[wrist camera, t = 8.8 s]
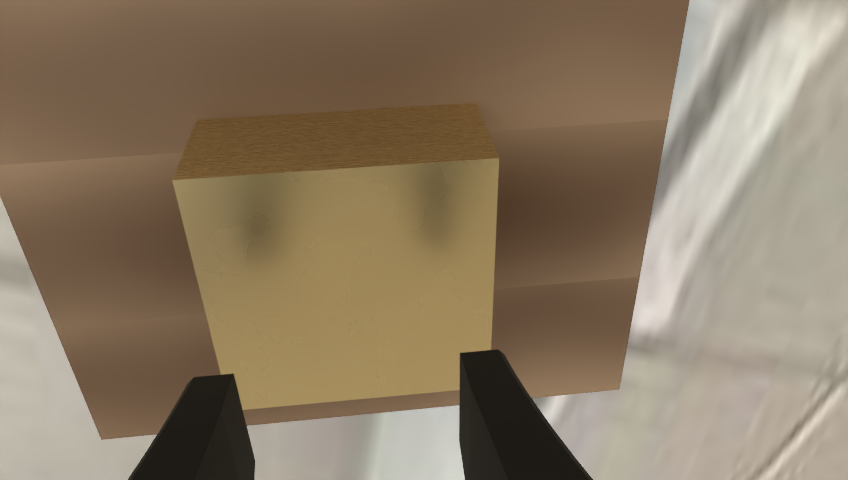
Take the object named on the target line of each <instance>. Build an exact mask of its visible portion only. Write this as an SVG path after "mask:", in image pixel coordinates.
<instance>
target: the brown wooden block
mask: <svg viewBox="0 0 848 480" xmlns="http://www.w3.org/2000/svg"><path fill="white" fill-rule="evenodd" d="M688 5H689V0H0V196H1V199H2V201H3V204H4V206H5V208H6V211H7V213H8V216H9V218H10V221H11V223H12V225H13V228H14V230H15V233H16V235H17V237H18V240H19V242H20V245H21V247H22V249H23V252H24V254H25V257H26V259H27V261H28V264H29V266H30V269H31V271H32V273H33V276H34V278H35V281H36V283H37V285H38V288H39V290H40V293H41V295H42V298H43V300H44V302H45V305H46V307H47V310H48V312H49V314H50V317H51V319H52V322H53V324H54V326H55V329H56V331H57V334H58V336H59V338H60V341H61V343H62V346H63V348H64V350H65V353H66V355H67V358H68V360H69V362H70V365H71V367H72V370H73V372H74V374H75V377H76V379H77V382H78V384H79V387H80V389H81V391H82V394H83V396H84V399H85V401H86V403H87V406H88V408H89V411H90V413H91V415H92V418H93V420H94V423H95V425H96V427H97V430H98V432H99V435H100V437H101V439H113V438H123V437H133V436H144V435H154V434H158V433H159V431H160V429H161V428H162V426H163V424H164V423H165V421H166V420H167V418H168V416H169V415H170V413H171V411H172V409H173V408H174V406H175V404H176V403H177V401H178V399H179V398H180V396H181V394H182V392H183V391H184V389H185V387H186V385H187V384H188V382H189V381H190V380H191V379H192V378H193V377H201V376H212V375H221V373H220V369H219V365H218V361H217V357H216V353H215V349H214V345H213V341H212V337H211V333H210V329H209V325H208V321H207V317H206V313H205V309H204V305H203V301H202V297H201V293H200V289H199V285H198V281H197V277H196V273H195V269H194V265H193V261H192V257H191V253H190V249H189V245H188V241H187V237H186V233H185V229H184V225H183V221H182V217H181V213H180V209H179V205H178V201H177V197H176V193H175V189H174V185H173V181H172V179H173V177H174V174H175V172H176V170H177V167H178V165H179V162H180V160H181V157H182V155H183V152H184V150H185V147H186V145H187V142H188V140H189V137H190V135H191V132H192V130H193V127H194V125H195V122H196V120H201V119H217V118H234V117H250V116H266V115H282V114H299V113H315V112H331V111H347V110H364V109H380V108H396V107H412V106H429V105H445V104H461V103H476V105H477V107H478V109H479V112H480V114H481V116H482V119H483V121H484V123H485V126H486V128H487V131H488V133H489V135H490V138H491V140H492V142H493V145H494V147H495V149H496V152H497V154H498V156H499V174H498V198H497V222H496V245H495V269H494V293H493V316H492V340H491V350H496V349H498V350H500V351H501V352H502V353H503V354H505V356H506V358H507V360H508V362H509V363H510V365H511V367H512V369H513V370H514V372H515V374H516V375H517V377H518V378H519V380H520V382H521V383H522V385H523V386H524V388H525V389H526V391H527V392H528V394H529V395H530V397H531V398H536V397H547V396H557V395H567V394H578V393H588V392H598V391H609V390H619V388H620V382H621V377H622V371H623V366H624V360H625V355H626V349H627V344H628V338H629V332H630V327H631V321H632V316H633V310H634V305H635V299H636V294H637V288H638V283H639V277H640V271H641V266H642V260H643V255H644V249H645V244H646V238H647V233H648V227H649V221H650V216H651V210H652V205H653V199H654V194H655V188H656V183H657V177H658V172H659V166H660V160H661V155H662V149H663V144H664V138H665V133H666V127H667V122H668V116H669V111H670V105H671V99H672V94H673V88H674V83H675V77H676V72H677V66H678V61H679V55H680V49H681V44H682V38H683V33H684V27H685V22H686V16H687V11H688ZM454 405H460V390H454V391H443V392H432V393H422V394H411V395H400V396H389V397H378V398H367V399H356V400H346V401H335V402H324V403H313V404H302V405H291V406H281V407H270V408H259V409H248V410H243V414H244V418H245V422H246V426H247V425H257V424H268V423H278V422H288V421H299V420H309V419H319V418H330V417H340V416H350V415H361V414H371V413H381V412H392V411H402V410H412V409H423V408H433V407H443V406H454Z"/></svg>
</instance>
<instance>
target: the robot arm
mask: <svg viewBox="0 0 848 480" xmlns="http://www.w3.org/2000/svg"><path fill="white" fill-rule="evenodd" d="M459 441H460V448H461V455H462V461H463V468H464V475H465V480H593V479H592V478H591V477H590V476H589V474H588V473H587V472H586V471H585V469H584V468H583V467H582V466H581V464H580V463H579V462H578V461H577V460H576V458H575V457H574V456H573V454H572V453H571V452H570V450H569V449H568V448H567V446H566V445H565V444H564V443H563V441H562V440H561V439H560V437H559V436H558V435H557V433H556V432H555V431H554V430H553V428H552V427H551V425H550V424H549V423H548V421H547V420H546V419H545V417H544V416H543V414H542V413H541V411H540V410H539V409H538V407H537V406H536V404H535V403H534V401H533V400H532V398H531V397H530V395H529V394H528V392H527V391H526V389H525V388H524V386H523V385H522V383H521V382H520V380H519V378H518V377H517V375H516V374H515V372H514V370H513V369H512V367H511V365H510V363H509V362H508V360H507V358H506V356H505V354H503V353H502V352H501V351H500V350H498V349H496V350H485V351H474V352H463V353H460V430H459ZM254 472H255V459H254V455H253V451H252V447H251V443H250V439H249V434H248V430H247V426H246V422H245V418H244V414H243V410H242V405H241V401H240V397H239V393H238V389H237V385H236V381H235V377H234V374H223V375H212V376H201V377H193V378H192V379H191V380H190V381H189V382H188V384H187V385H186V387H185V389H184V391H183V392H182V394H181V396H180V398H179V399H178V401H177V403H176V404H175V406H174V408H173V409H172V411H171V413H170V415H169V416H168V418H167V420H166V421H165V423H164V424H163V426H162V428H161V429H160V431H159V433H158V434H157V436H156V437H155V439H154V441H153V442H152V444H151V445H150V447H149V448H148V450H147V452H146V453H145V455H144V456H143V458H142V459H141V461H140V462H139V464H138V465H137V467H136V468H135V470H134V471H133V473H132V474H131V476H130V477H129V479H128V480H254Z"/></svg>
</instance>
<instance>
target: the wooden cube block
mask: <svg viewBox="0 0 848 480" xmlns="http://www.w3.org/2000/svg"><path fill="white" fill-rule="evenodd" d="M498 174H499V156H498V154H497V152H496V149H495V147H494V145H493V142H492V140H491V138H490V135H489V133H488V131H487V128H486V126H485V123H484V121H483V119H482V116H481V114H480V112H479V109H478V107H477V105H476V103H461V104H445V105H429V106H412V107H396V108H380V109H364V110H347V111H331V112H315V113H299V114H282V115H266V116H250V117H234V118H217V119H201V120H196V122H195V125H194V127H193V130H192V132H191V135H190V137H189V140H188V142H187V145H186V147H185V150H184V152H183V155H182V157H181V160H180V162H179V165H178V167H177V170H176V172H175V174H174V177H173V179H172V181H173V185H174V189H175V193H176V197H177V201H178V205H179V209H180V213H181V217H182V221H183V225H184V229H185V233H186V237H187V241H188V245H189V249H190V253H191V257H192V261H193V265H194V269H195V273H196V277H197V281H198V285H199V289H200V293H201V297H202V301H203V305H204V309H205V313H206V317H207V321H208V325H209V329H210V333H211V337H212V341H213V345H214V349H215V353H216V357H217V361H218V365H219V369H220V373H221V375H223V374H234V377H235V381H236V385H237V389H238V393H239V397H240V401H241V405H242V410H248V409H259V408H270V407H281V406H291V405H302V404H313V403H324V402H335V401H346V400H356V399H367V398H378V397H389V396H400V395H411V394H422V393H432V392H443V391H454V390H460V353H463V352H474V351H485V350H491V340H492V316H493V293H494V269H495V245H496V222H497V198H498Z"/></svg>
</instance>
